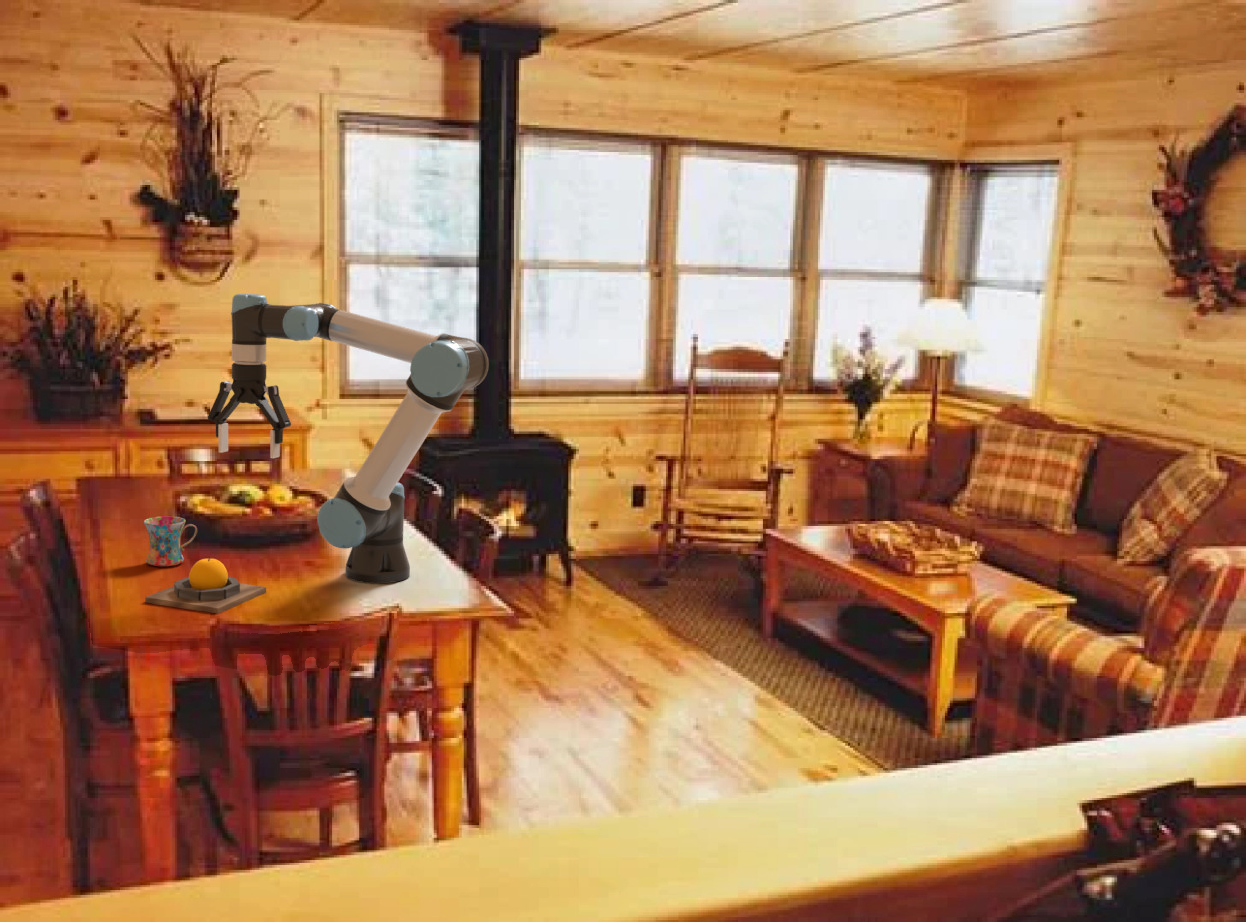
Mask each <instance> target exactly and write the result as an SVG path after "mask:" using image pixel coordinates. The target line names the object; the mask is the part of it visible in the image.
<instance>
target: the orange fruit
mask: <svg viewBox="0 0 1246 922" xmlns="http://www.w3.org/2000/svg"><path fill="white" fill-rule="evenodd" d="M188 577H189V581H190V584H191V586H192V588H193V589H198V590H208V589H220V588H223V587H224V586H225V585H226V583H227V579H228V577H229V574H228V570H227V568H226V567H225V565H224V563H222V562H221V561H220V560H218V559H216V558H210V557H209V558H202V559H200V560H198V561H196V562H195V563H194V564H193V566H192V567H191V569H190V571H189V574H188Z"/></svg>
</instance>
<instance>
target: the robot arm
mask: <svg viewBox="0 0 1246 922" xmlns="http://www.w3.org/2000/svg"><path fill="white" fill-rule="evenodd" d="M231 302H232V303H231V312H230V314H231V336H232V339H231V360H232V362H233V363H232V364H231V379H232V382H231V381H230V380H225V381H221V382H220V383H219V390H218V394H217V396H216V398H215V400H214V402H213V404H212V407H211V408H210V411H209V412H208V416H207V419H208V420H209V421H212V422H214V423H215V437H216V438H218V441H217V442H218V453H222V454H223V453H226V452H229V423H227V420H228V419H229V417H230V416H231V415H232V414H233V412H234V411H235V409H236V408H237V407H238V406H239V405H240V404H249V405H254V404H255V405H256V406H257V408H259V409H260V411H261V412H262V414H263V415H264V417H265V418H266V420H268V422H269V424H270V425H271V427H272V429H270V430H269V431H270V434H269V435H270V439H269V440H270V441H269V443H270V447H269V448H270V449H269V450H270V453H269V455H270V457H269V458H270V459H277V458H279V457H280V456H281V454H280V453H281V444H283V442H284V439H283V438H284V429H286V428H289V427H291V426H292V422H291V420H290V418H289V416H288V413H287V411H286V409H285V408H286V407H285V406H284V404H283V400H282V399H281V397H280V391H279V386H278V385H276V384H275V385H269V386H267V384H266V380H267V364H266V363H265V362H266V361H267V338H268V339H279V340H291V341H294V342H298V341H310V340H312V339H313V338H320V339H323V340H327V341H331V342H335V343H339V344H342V345H346V346H348V347H352V348H357V349H359V350H363V351H365V352H366V351H368V352H371V353H374V354H378V355H381V356H385V357H388V358H392V359H396V360H399V361H401V362H405V363H409V364H410V367H409V371H410V374H409V376H408V378H407V379H406V381H405V385H406V389H407V392H406V394H405V396H404V398H403V399H402V401H401V402H400V404H399V406H398V407H397V409H396V411H395V412H394V414H393V416H391V418H390V420H389V422H388V424H387V425H386V427H385V428H384V430H383V432H381V434H380V436H379V438H378V440H376V442H375V445H374V446H373V448H372V449H371V451H370V452H369V454H368V455H367V458H366V459H365V460H364V462H363V463H362V465H361V467H360V469H358V472H357V473H356V475H355V476H351V477H347V478H346V479H345V480H344V481H343V482H342V485H341V486H340V488H339V489H338V491H337V493H336V494H335V496H334V497H333V498H329V499H328V500H325V502H324V503H323V504H322V505H321V507H320V508H319V510H318V514H317V525H318V528H319V532H320V534H321V536H322V538H323V539H324V540H325V541H326V542H327V543H329V544H330V545H332V546H333V547H335V548H338V549H346V550H347V549H350V552H349V555H348V557H347V558H348V559H347V561H346V564H345V569H344V575H345V577H346V579H349V580H351V581H354V582H360V583H366V584H367V583H368V584H386V583H388V584H389V583H390V584H391V583H395V582H401V581H404V580H406V579H408V578H410V576H411V567H410V562H409V559H408V556H407V552H406V549H405V547H404V526H405V525H404V524H405V522H404V521H405V517H404V515H405V500H406V499H405V498H406V497H405V487H404V485H403V484H402V483H400V482H399V481H400V479H401V478H402V476H403V474H404V473H405V472H406V470H407V468H408V467H409V465H410V464H411V462H412V460H413V459H414V457H415V456H416V454H417V453H418V451H419V450H420V448H421V447H422V445H423V443H424V442H425V440H426V438H427V436H428V435H429V433H430V432H431V431H432V430H433V427H434V426H435V424H436V422H437V421H438V419H439V418H440V416H441V414H443V413H446V412H447V413H449V412H451V411H452V410H453V408H454V407H455V406H456V404H457V402H458V401H459V399H460V398H461V396H462V394H463V393H464V392H465V391H467V390H471V389H473V388H476V387H477V386H479V385H480V384H481V383H482V382H483V381H484V380H485V379H486V377H487V374H488V371H489V357H488V354H487V352H486V350H485V348H484V347H483V346H482V345H481V343H479V342H478V341H476V340H473V339H471V338H468V337H460V336H456V335H451V334H447V333H440V334H438V335H434V334H431V333H427V332H422V331H420V330H415V329H412V328H409V327H405V326H401V325H398V324H393V323H390V322H386V321H383V320H378V319H376V318H371V317H369V316H364V315H360V314H356V313H353V312H349V311H345V310H342V309H338V308H337V307H335V306H334V305H332V304H331V303H330V304H329V303H323V302H319V303H313V304H297V305H296V304H295V305H294V304H293V305H282V304H270V303H268V300H267V296H266V295H264V294H260V293H259V294H258V293H256V294H255V293H237V294H235V295H233V297H232V301H231ZM231 391H232V392H233V395H232V396H231V398H230V399H229V401H228V403H226V402H227V400H228V398H229V395H230V392H231ZM265 394H266V395H267V396H268V398H269V399H268V398H267V397H266V395H265ZM269 402H270V403H269ZM225 404H226V405H225ZM270 404H271V405H270Z"/></svg>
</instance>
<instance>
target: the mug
mask: <svg viewBox="0 0 1246 922" xmlns="http://www.w3.org/2000/svg"><path fill="white" fill-rule="evenodd" d="M143 524H144V526H145V528H146V531H147V533H148V537H149V552H148V556H147V558H146V563H147V564H148V565H151V566H154V567H173V566H177V565H180V564H181V563H183V562H184V560H185V558H184V556H183V554H182V551H183V552H184V551H185V549H184V548H183V547H185V546H187V545H189V544H190V543H192V541H193V540H194V539H195V537H196V536H197V534H198V528H197V526H196V525H194V524H192V523H189V524H186V519H185V518H182V517H179V516H171V515H170V516H162V515H161V516H154V517H149V518H147V519H144V520H143ZM185 524H186V525H185ZM188 527H193V528H194V534H193V535H192V537H191V538H190V539H189V540H188V541H187V542H185V543H184V544H182V545H181V537H182V534H183V532H184V531H185V529H186V528H188Z"/></svg>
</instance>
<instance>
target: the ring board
mask: <svg viewBox="0 0 1246 922" xmlns="http://www.w3.org/2000/svg"><path fill="white" fill-rule="evenodd" d="M264 594H267V587H266V586H262V585H253V584H246V583H242V582H241V583H240V582H239V581H238V579H237V578H236V577H233V576H228V579H227V583H226V585H225V586H224V587H223V588H220V589H208V590H198V589H193V588H192V586H191V584H190V581H189V576H186V577H184V578H182V579H178V580H177V581H174V582H173V586H171V587H168V588H164V589H163V590H161V591H158V592H154V593H152V594H149V595H147V596H145V598H144V599H145V600H144V602H145V603H146V604H152V605H160V606H164V607H165V606H166V607H174V608H178V609H184V610H192V611H198V612H206V613H211V614H212V613H213V614H218V615H219V614H220V613H222V612H225V611H227V610H230V609H232V608H234V607H237V606H238V605H241V604H243V603H245V602H248V601H250V600H252V599H254V598H257V597H259V596H261V595H264Z"/></svg>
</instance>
